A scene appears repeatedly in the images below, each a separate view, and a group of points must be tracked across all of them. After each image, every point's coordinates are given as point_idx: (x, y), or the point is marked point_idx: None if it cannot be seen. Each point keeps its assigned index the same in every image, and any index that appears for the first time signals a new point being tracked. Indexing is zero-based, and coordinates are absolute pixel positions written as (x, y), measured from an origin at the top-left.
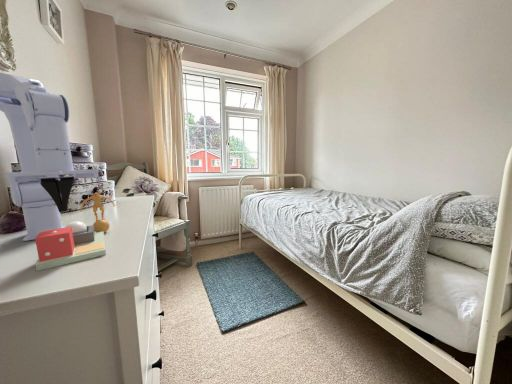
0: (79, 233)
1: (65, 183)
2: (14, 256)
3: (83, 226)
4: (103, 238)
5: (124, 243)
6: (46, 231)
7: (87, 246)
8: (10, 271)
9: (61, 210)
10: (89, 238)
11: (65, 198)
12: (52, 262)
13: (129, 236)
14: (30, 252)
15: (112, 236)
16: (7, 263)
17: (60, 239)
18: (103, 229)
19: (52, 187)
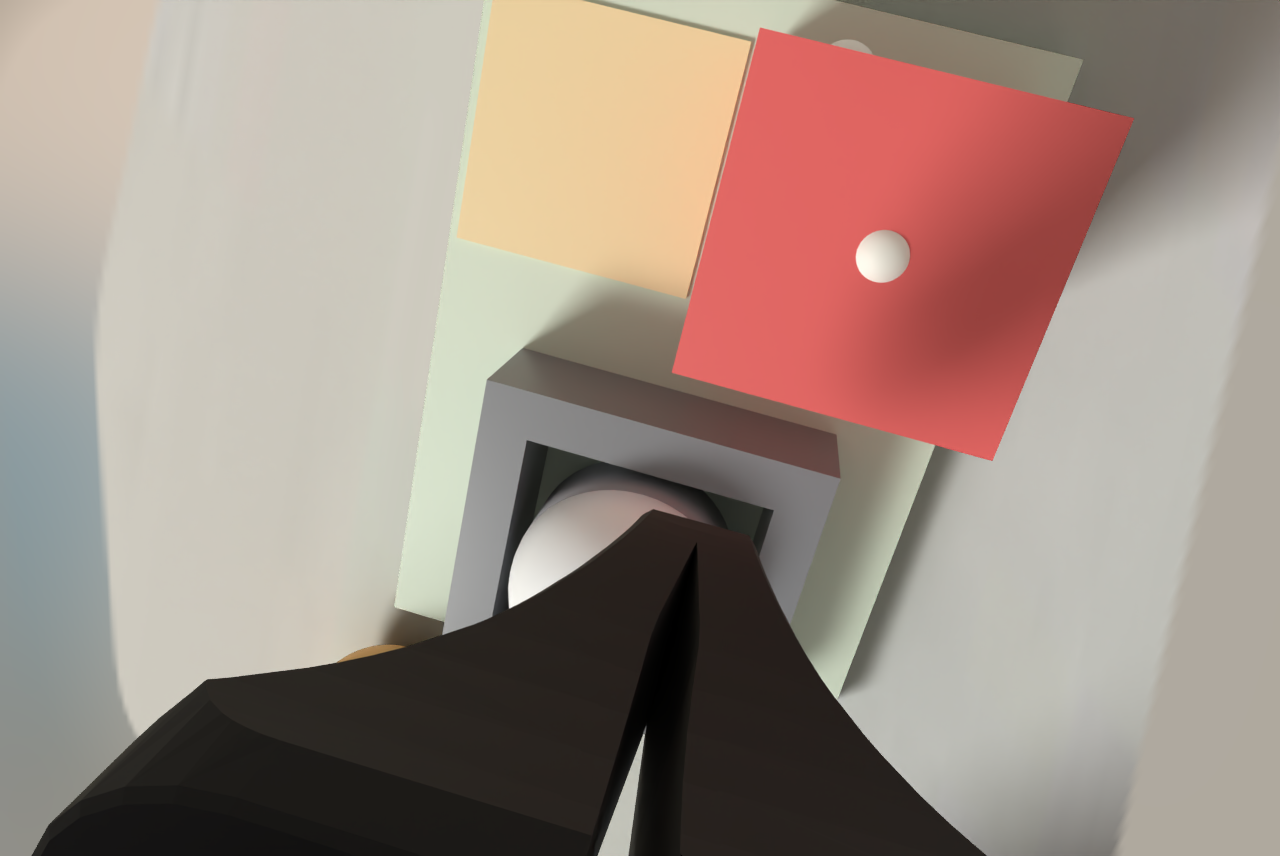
0: (609, 451)
1: (375, 745)
2: (1091, 669)
3: (537, 539)
4: (438, 353)
5: (306, 131)
6: (944, 388)
7: (610, 205)
8: (1207, 277)
9: (720, 530)
10: (550, 369)
11: (590, 597)
12: (950, 33)
13: (227, 321)
14: (981, 662)
15: (359, 477)
16: (1171, 528)
17: (863, 44)
18: (384, 647)
19: (800, 829)
